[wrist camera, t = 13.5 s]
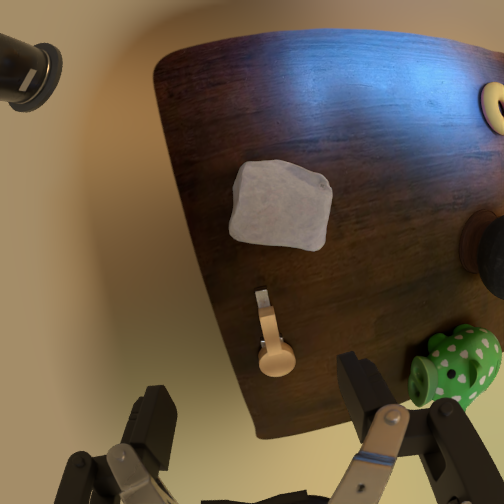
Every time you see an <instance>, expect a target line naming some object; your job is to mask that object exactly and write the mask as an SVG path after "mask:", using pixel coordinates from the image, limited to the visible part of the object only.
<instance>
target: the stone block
mask: <svg viewBox="0 0 504 504" xmlns="http://www.w3.org/2000/svg"><path fill="white" fill-rule="evenodd" d="M233 201H234V205H233V211H232V215H231V219H230V221H229V233H230V235H231V236H232V237H233V238H234V239H236V240H237V241H241V242H247V243H252V244H262V245H272V246H288V247H294V248H300V249H304V250H307V251H317V250H319V249H321V248H322V246H323V245H324V243H325V240H326V239H325V236H326V227H327V222H328V217H329V213H330V207H331V201H332V188H331V187H329V182H328V180H327V179H326V178H325V177H324V176H323V175H322V174H320V173H316V172H311V171H309V170H306V169H304V168H303V167H301V166H297V165H295V164H292V163H289V162H285V161H282V160H269V161H265V160H263V161H259V162H253V161H248V162H245V163H244V164H243V165H242V166H241V167H240V169H239V171H238V174H237V177H236V180H235V182H234V185H233Z"/></svg>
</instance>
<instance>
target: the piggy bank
mask: <svg viewBox="0 0 504 504" xmlns="http://www.w3.org/2000/svg"><path fill="white" fill-rule="evenodd" d="M428 351H429V355H428V356H427V357H424V356H415V357H414V359H413V361H412V364H411V374H410V375H409V379H408V393H409V396H410V399H411V400H412V402H413V403H414V404H415V405H416V406H417V407H422V406H423V405H425V404H427V403H428V402H430V401H431V400H434V401H436V400H437V399H440V398H444V397H448V398H453V399H455V400H456V401H457V402H458V403H459V404H460V405H461V407H462V409H463V410H464V412H465V411H466V408H467V406H469V405H470V404H471V403H472V402H473V401H474V400H475V399H476V398H477V397H478V396H479V395H480V394H481V393H483V392H484V391H486V389H487V388H488V387H489V385H490V384H491V383H492V382H493V380H494V378H495V377H496V375H497V373H498V371H499V368H500V364H501V358H502V351H501V347H500V344H499V342H498V340H497V338H496V337H495V335H494V334H493V333H491V332H490V331H488V330H487V329H484V328H480V327H472V326H471V325H469V324H461V325H459V326H457V327H456V328H455V329H454V331H453V334H452V336H449V337H447V336H445V335H444V334H443V333H437V334H435V335H433V336H432V337H431V338H430V339H429V341H428Z"/></svg>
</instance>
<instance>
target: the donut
mask: <svg viewBox="0 0 504 504" xmlns="http://www.w3.org/2000/svg"><path fill="white" fill-rule="evenodd" d="M498 100H499V101H500V102H501V104H502V106H503V109H504V85H502V84H500V83H497V82H491V83H488V84H487V85H486V86H485V87H484V88H483V91H482V94H481V105H482V110H483V113H484V116H485V118H486V120H487V122H488V123H489V125H490V126H491V128H492V129H493V130H494V131H496V132H497V133H498V134H500V135H504V117H503V116H502V115H501V113H500V111H499V108H498Z"/></svg>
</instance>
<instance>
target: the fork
mask: <svg viewBox="0 0 504 504" xmlns="http://www.w3.org/2000/svg"><path fill="white" fill-rule="evenodd" d="M255 295H256V299H257V303H258V308H259V309H260V308H265V307H270V301H269V297H268V292H267V287H266V286H263V287H258V288H255ZM279 338H280V342H284V341H283V337H282V333H280V334H279ZM260 341H261V345H262V348H263V347H264V346H265V345H266V344H265V340H264V337H260Z"/></svg>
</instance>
